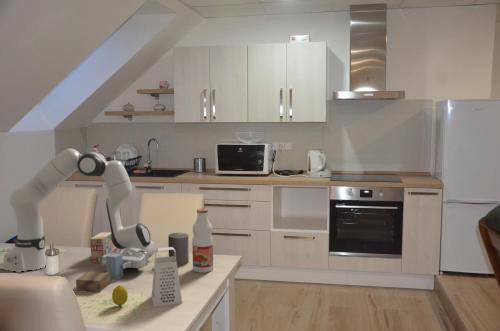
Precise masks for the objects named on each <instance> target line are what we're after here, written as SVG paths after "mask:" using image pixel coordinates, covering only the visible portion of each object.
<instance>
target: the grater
mask: <svg viewBox="0 0 500 331" xmlns="http://www.w3.org/2000/svg"><path fill="white" fill-rule="evenodd" d="M169 250H174V251H175V249H174V248H173V247H169V246H168V247H166V246H165V247H156V249H155V252H154V256H155V257H154V262H153V275H152V285H151V286H152V287H151V300H152V305H153V307H161V306H162V307H163V306H171V305H180V304H183V299H182V298H183V297H182V292H181V284H180V277H179V270H178V269H179V268H178V266H177V261H176V251H175V257H174V256H171V257H169V256H161V257H157V253H158V252H160V251H161V252H162V251H169ZM161 298H162V299H161ZM164 298H165V299H164ZM163 301H164V302H163ZM166 301H167V302H166Z"/></svg>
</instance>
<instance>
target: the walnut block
mask: <svg viewBox="0 0 500 331" xmlns="http://www.w3.org/2000/svg"><path fill="white" fill-rule="evenodd" d="M110 284H111V279H110V273H106V272H103V271H100V272H99V271H86V272H85V273H83V274H82V275H80V277H78V278H77V279H75V287H76V288H75V289H76V290H75V291H76V292H82V291H86V292H85V293H88V292H89V293H101V292H102V291H104V290H105V288H107V287H108V286H109V285H110Z"/></svg>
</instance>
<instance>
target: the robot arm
mask: <svg viewBox="0 0 500 331" xmlns="http://www.w3.org/2000/svg"><path fill="white" fill-rule="evenodd" d="M77 171H79V173H80V174H82V175H83V176H85V177H102V179H103V180H104V182H105V185H106V189H107V192H108V193H107V195H108V196H107V199H106V201H105V204H106V205H105V206H106V212H107V216H108V217H107V218H108V222H109V228H110V232H111V240H112V243H113V245H114V246H115V247H117V248H118V249H121V250H123V251H122V253H120V252H118V253H117V254H122V256H123V264H121V268H123V270H124V269H126V268H128V269H129V268H131V269H133V268H134V269H141V268H144V267H146V266H148V263H149V262H148V261H149V259H150V258H152V256H154V255H155V251H156V249H157V247H156V244H155V242H154V241H153V240H152V239H151V233H150V231H149V229H148V227H147V226H146V225H145V224H143V223H141V222H140V223H136V224H132V225H129V226H125V227H124V226H123V224H122V218H121V213H120V209H121V207H122V205H123V204H124V203H125V202H127V201H128V199H130V197H131V195H132V194H133V185H132V182H131V180H130V177H129V174H128V172H127V170H126V168H125V166H124V164H123V163H122V162H121V161H120V160H116V159H114V160H107V157H106V156H105V155H104V154H103V153H101V152H99V151H89V152H87V153H84V154H81V153H80V152H79V151H78V150H76V149H74V148H66V149H65V150H63V151H61V152H60V153H58V154H57V155H55V156H54V157H53V158H52V159H51V160H49V161H48V162H47V163H46V164H45V165H44V166H43V167H41V169H39V170H38V172H36V174H35V175H34V176H33V177H32V178H31V179H30V180H29V181H28V182H26V183H25V184H23V185H22V186H20V187H17V188H15V189H14V190H13V191H12V193H11V195H10V197H9V203H10V205H11V207H12V209H13V213H14V216H15V221H16V227H17V228H16V230H17V237H16V238H15V239H14V240H12V241H13V242H12V243H14V246H13V247H12V248H10V249H9V250H8V251H7V252H5V254H4V255H3V260H2V261H3V262H2V263H0V270H3V269H4V270H3V271H8V270H9V272H13V271H16V272H15V273H22V272H21V271H24V272H28V271H27V270H32V271H36V269H37V270H41V269H44V268H46V267H45V265H46V256H47V255H46V256H45V252H46V253H47V251H46V237H45V235H44V234H45V232H44V219H43V217H42V215H41V210H40V204H41V203H42V202H44V201H45V200H46V199H47V198H48V197H49V196H50V195H51V194H52V193H53V192H54V191H55V190H57V188H58V187H59V186H60V185H63V183H64V182H65V181H67V179H69V178H70V177H71V176H72V175H73V174H74V173H76V172H77ZM110 254H112V253H110ZM107 255H109V254H106V255H104V256H102V263H101V264H102V267H106V256H107ZM40 268H41V269H40Z"/></svg>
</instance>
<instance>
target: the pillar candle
mask: <svg viewBox="0 0 500 331" xmlns="http://www.w3.org/2000/svg"><path fill="white" fill-rule="evenodd" d="M167 240H168V241H167V242H168V247H173V248H174V249H175V251H176V261H177V267H178V266H179V265H181V266H186V265H188V264H189V262H190V260H189V258H190V256H189V252H190V251H189V248H190V247H189V246H190V245H189V242H190V241H189V234H188V233H186V232H172V233H170V234H168V238H167ZM175 251H174V250H168V257H171V256H174V257H175ZM187 263H188V264H187ZM185 264H186V265H185ZM179 267H180V266H179Z"/></svg>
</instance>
